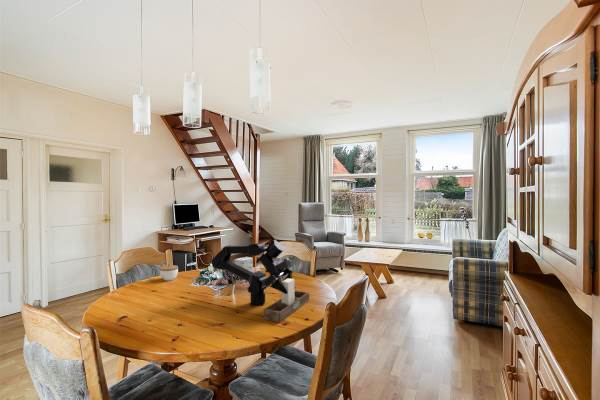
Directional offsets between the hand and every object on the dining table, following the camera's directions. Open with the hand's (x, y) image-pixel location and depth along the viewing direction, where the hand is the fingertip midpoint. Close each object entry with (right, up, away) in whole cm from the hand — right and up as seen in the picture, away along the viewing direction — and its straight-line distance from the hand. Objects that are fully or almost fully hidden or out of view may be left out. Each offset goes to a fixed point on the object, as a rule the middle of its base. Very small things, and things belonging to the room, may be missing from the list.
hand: (290, 290), depth 138 cm
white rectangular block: (-1, -7, +1) cm, 7 cm away
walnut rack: (-1, -9, +1) cm, 9 cm away
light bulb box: (-33, -8, +63) cm, 71 cm away
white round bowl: (-78, -8, +51) cm, 94 cm away
